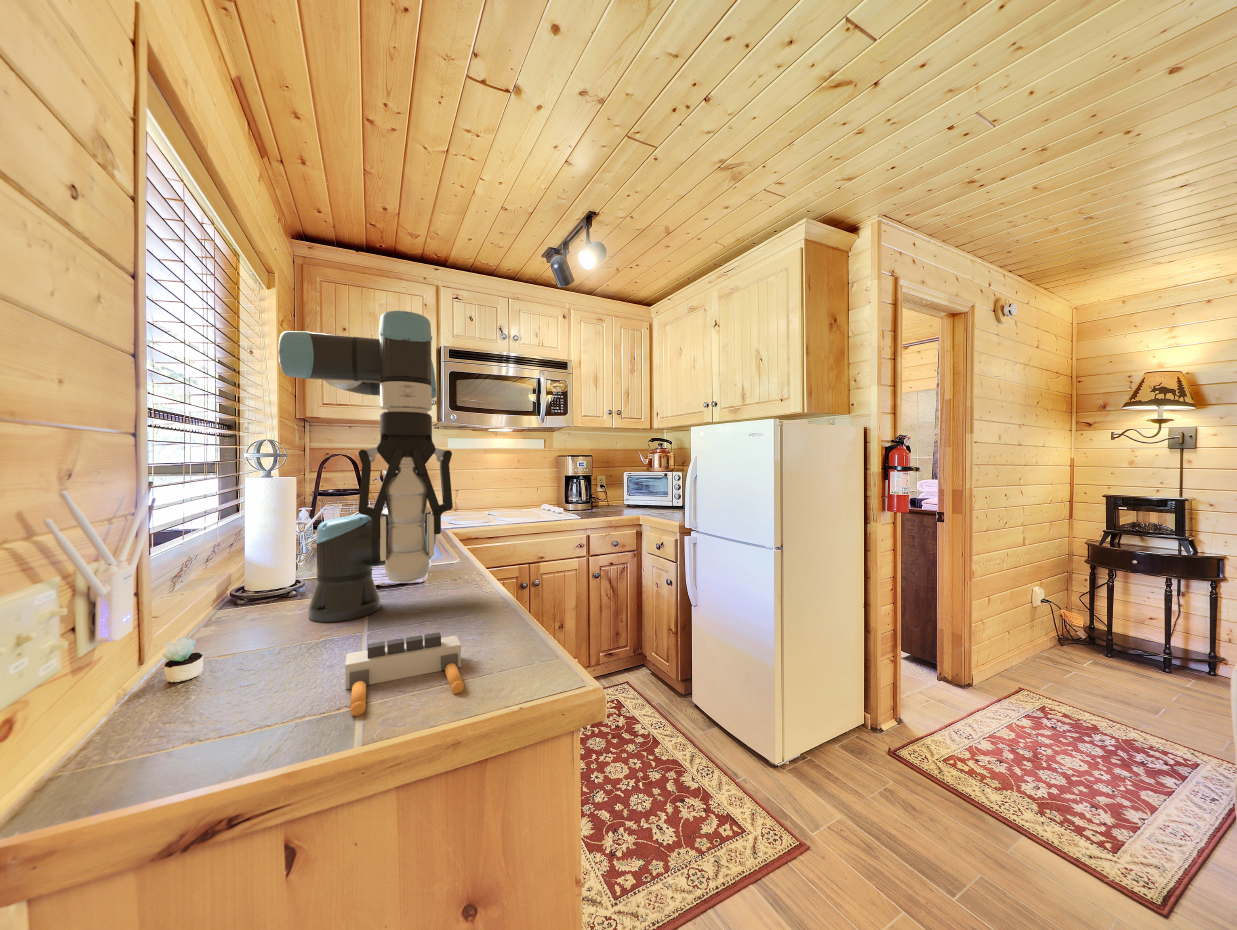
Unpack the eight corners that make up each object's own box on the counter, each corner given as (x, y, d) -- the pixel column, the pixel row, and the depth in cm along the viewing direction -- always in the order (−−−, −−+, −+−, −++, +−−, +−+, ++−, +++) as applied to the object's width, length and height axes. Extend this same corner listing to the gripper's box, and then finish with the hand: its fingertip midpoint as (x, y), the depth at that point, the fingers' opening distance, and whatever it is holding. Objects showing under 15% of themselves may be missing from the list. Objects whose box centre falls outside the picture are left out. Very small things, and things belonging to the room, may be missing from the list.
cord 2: (444, 674, 82) (444, 662, 82) (456, 671, 83) (456, 660, 83) (451, 697, 74) (451, 685, 74) (464, 694, 75) (464, 682, 75)
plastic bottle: (437, 576, 78) (437, 456, 78) (412, 587, 71) (411, 455, 71) (403, 575, 79) (402, 456, 79) (374, 585, 73) (374, 455, 73)
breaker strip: (347, 676, 81) (346, 643, 81) (456, 656, 89) (456, 625, 89) (345, 691, 76) (344, 655, 76) (461, 668, 84) (461, 636, 84)
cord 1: (352, 692, 76) (352, 680, 76) (366, 689, 77) (366, 677, 77) (349, 720, 68) (349, 706, 68) (365, 716, 69) (365, 703, 69)
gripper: (334, 406, 67) (336, 568, 68) (472, 412, 76) (473, 555, 76) (338, 411, 74) (339, 558, 74) (464, 416, 83) (465, 547, 83)
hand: (407, 556), depth 75 cm, fingers closed on plastic bottle, 6 cm apart
